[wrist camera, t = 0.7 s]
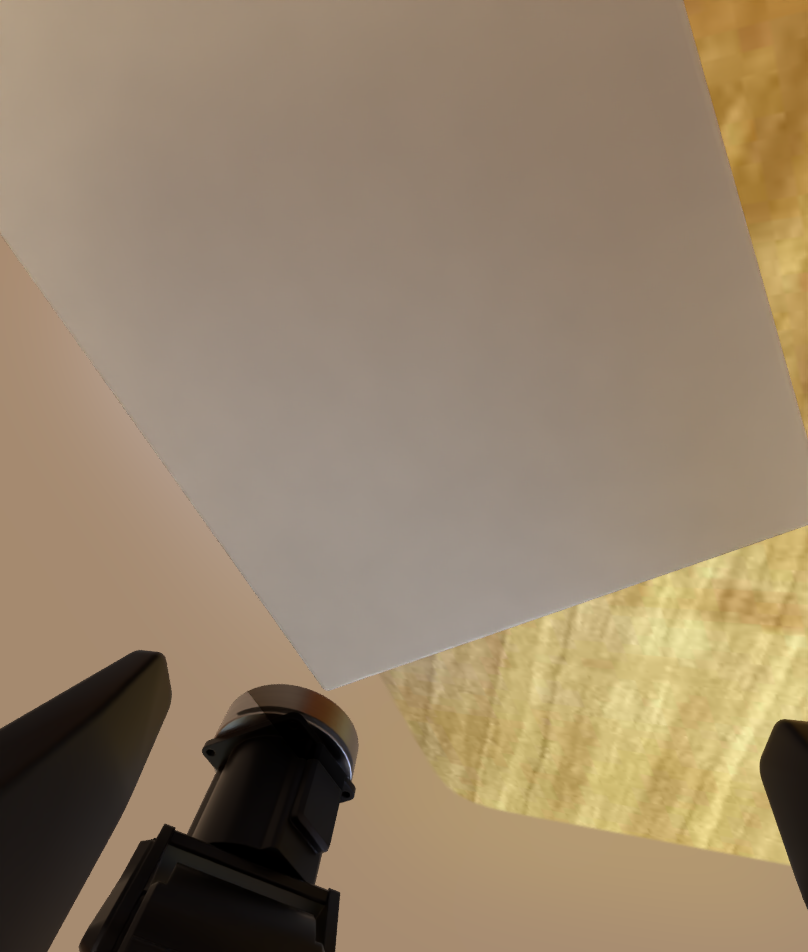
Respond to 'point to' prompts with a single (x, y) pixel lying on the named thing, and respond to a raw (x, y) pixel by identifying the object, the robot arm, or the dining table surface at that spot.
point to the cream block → (409, 296)
